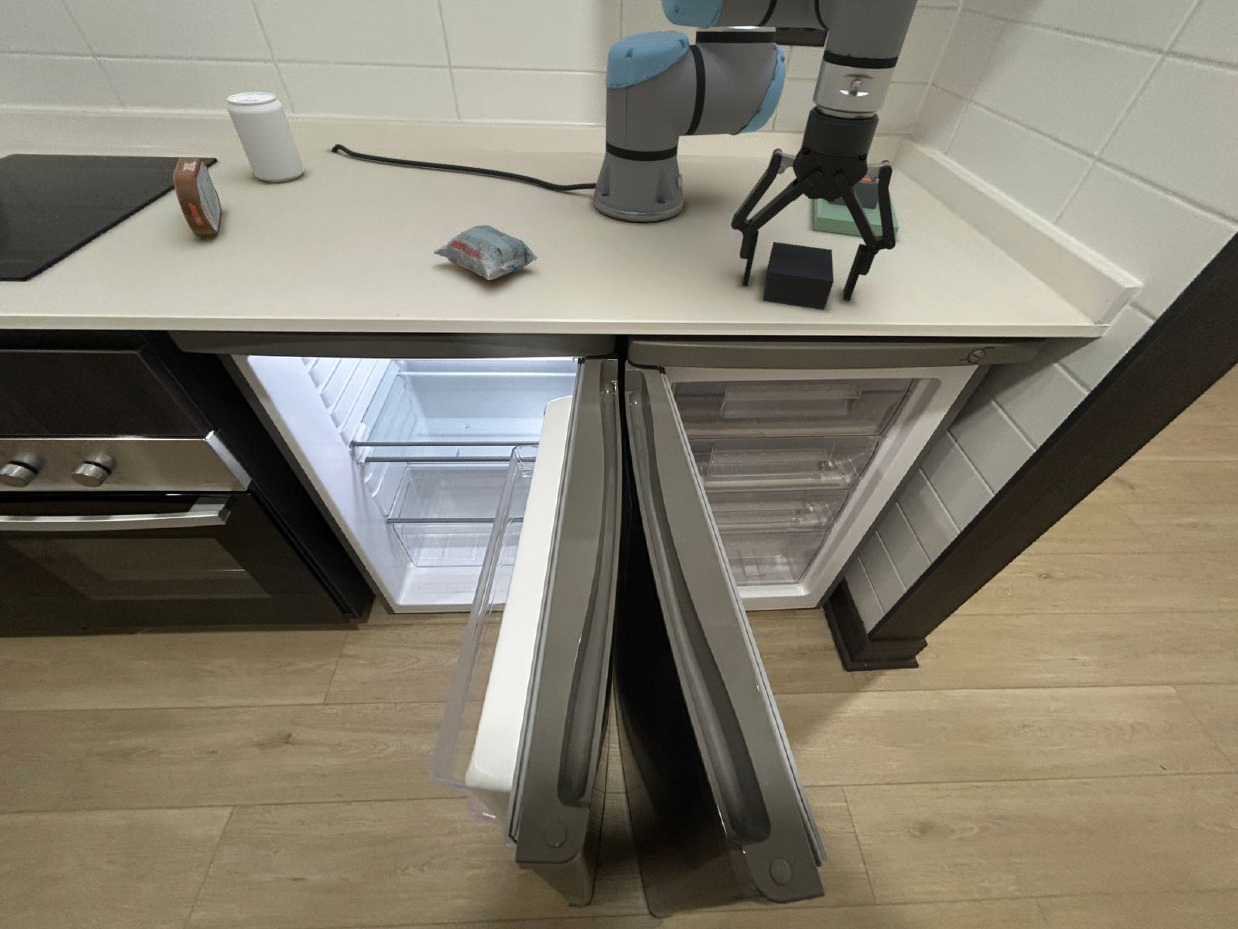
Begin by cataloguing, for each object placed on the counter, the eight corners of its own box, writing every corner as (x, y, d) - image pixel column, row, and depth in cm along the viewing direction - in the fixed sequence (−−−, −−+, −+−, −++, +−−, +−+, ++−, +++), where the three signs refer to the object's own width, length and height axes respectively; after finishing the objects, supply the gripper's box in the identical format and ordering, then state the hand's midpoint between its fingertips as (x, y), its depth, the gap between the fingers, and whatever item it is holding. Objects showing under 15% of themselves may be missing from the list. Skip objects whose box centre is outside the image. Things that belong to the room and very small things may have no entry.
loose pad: (762, 300, 73) (769, 272, 71) (766, 268, 80) (773, 241, 77) (824, 309, 72) (833, 281, 69) (823, 276, 79) (832, 249, 76)
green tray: (893, 240, 88) (899, 227, 87) (813, 229, 90) (817, 216, 89) (882, 193, 103) (886, 181, 102) (813, 184, 105) (816, 172, 103)
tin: (205, 207, 88) (177, 149, 82) (227, 204, 89) (201, 147, 83) (197, 246, 79) (164, 183, 73) (222, 243, 80) (191, 181, 74)
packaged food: (491, 295, 72) (486, 258, 68) (435, 265, 77) (428, 229, 74) (539, 273, 77) (537, 238, 73) (484, 246, 82) (480, 212, 78)
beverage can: (315, 174, 100) (289, 96, 91) (274, 187, 95) (242, 106, 86) (287, 164, 103) (259, 88, 94) (246, 176, 98) (212, 97, 89)
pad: (828, 203, 97) (835, 178, 94) (827, 184, 104) (834, 160, 101) (875, 209, 96) (884, 183, 93) (871, 190, 102) (879, 165, 99)
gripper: (729, 106, 60) (701, 287, 75) (972, 130, 56) (892, 315, 71) (735, 91, 65) (708, 263, 80) (959, 112, 62) (887, 288, 77)
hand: (795, 288), depth 76 cm, fingers open, 13 cm apart
